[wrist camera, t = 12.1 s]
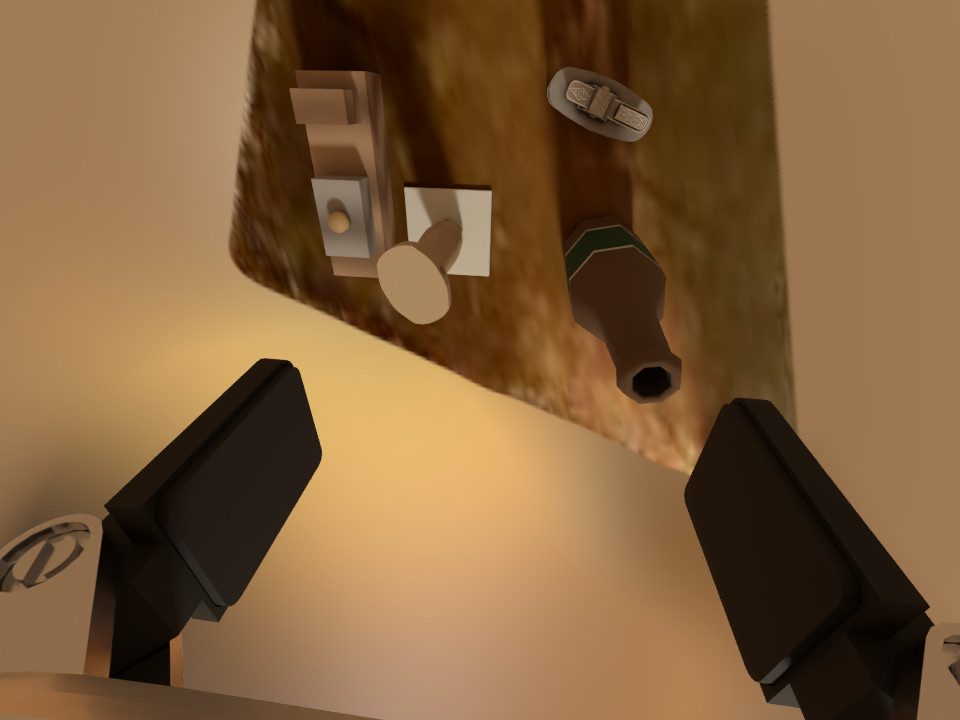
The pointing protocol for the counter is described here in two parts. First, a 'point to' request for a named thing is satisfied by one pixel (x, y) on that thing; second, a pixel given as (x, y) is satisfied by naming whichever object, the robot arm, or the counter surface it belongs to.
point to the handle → (421, 272)
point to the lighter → (599, 104)
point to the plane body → (348, 165)
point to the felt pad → (463, 210)
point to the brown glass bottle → (622, 305)
